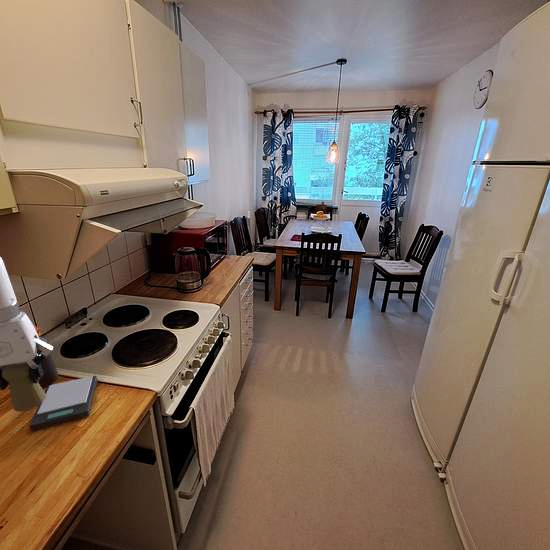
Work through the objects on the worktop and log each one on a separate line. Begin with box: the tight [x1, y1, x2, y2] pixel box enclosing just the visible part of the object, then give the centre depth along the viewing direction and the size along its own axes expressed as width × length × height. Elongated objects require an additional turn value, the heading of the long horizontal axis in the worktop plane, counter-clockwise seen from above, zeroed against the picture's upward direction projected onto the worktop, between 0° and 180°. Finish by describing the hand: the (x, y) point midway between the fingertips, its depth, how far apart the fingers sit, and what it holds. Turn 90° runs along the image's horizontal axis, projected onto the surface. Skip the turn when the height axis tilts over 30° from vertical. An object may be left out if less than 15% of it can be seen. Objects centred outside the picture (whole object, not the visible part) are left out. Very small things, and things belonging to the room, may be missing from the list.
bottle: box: [34, 326, 60, 388], centre depth 94 cm, size 7×7×20 cm
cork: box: [2, 362, 46, 413], centre depth 65 cm, size 6×6×11 cm
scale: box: [28, 375, 99, 432], centre depth 88 cm, size 14×16×2 cm
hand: (22, 381), depth 65 cm, fingers closed on cork, 5 cm apart
